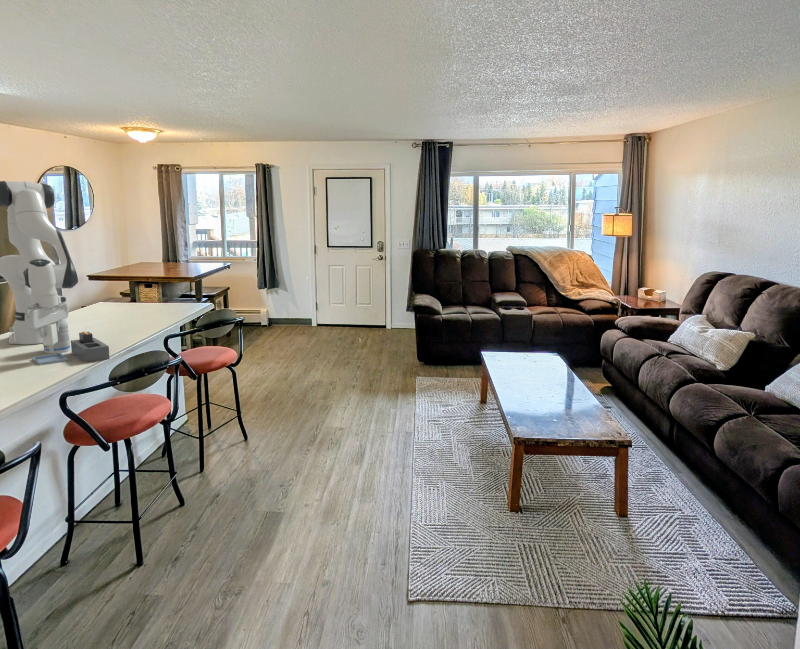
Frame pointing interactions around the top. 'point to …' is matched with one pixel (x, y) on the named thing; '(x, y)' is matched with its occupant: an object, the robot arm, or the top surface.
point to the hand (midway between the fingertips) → (49, 334)
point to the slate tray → (49, 359)
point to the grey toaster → (89, 348)
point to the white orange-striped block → (50, 334)
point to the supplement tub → (60, 340)
